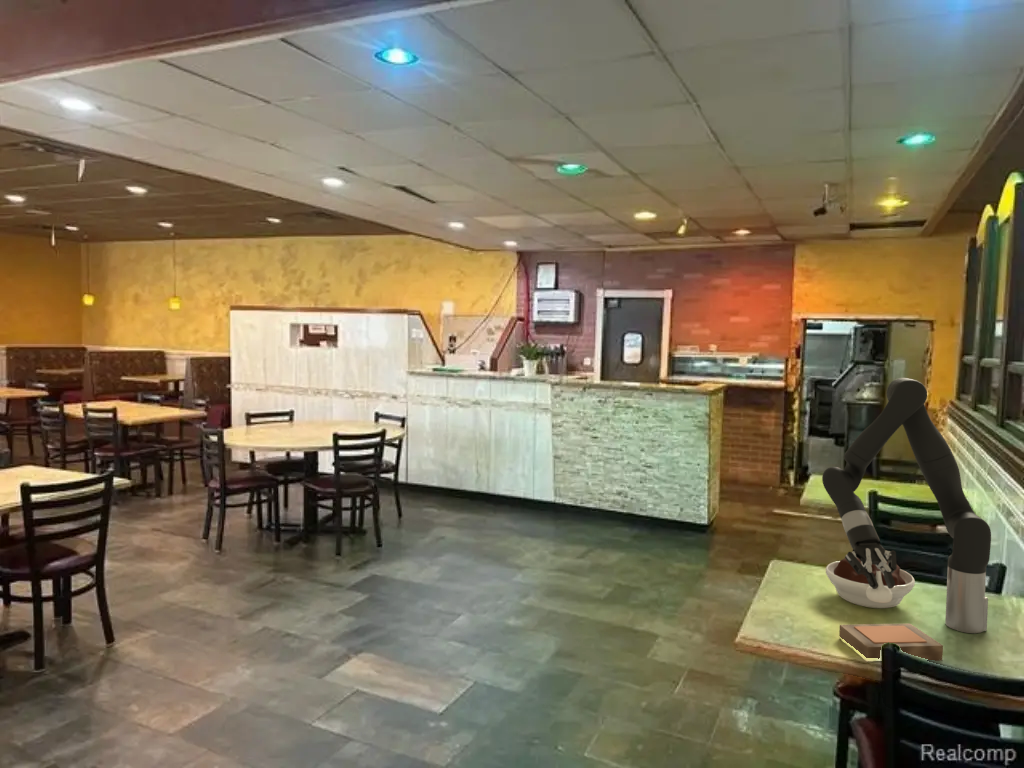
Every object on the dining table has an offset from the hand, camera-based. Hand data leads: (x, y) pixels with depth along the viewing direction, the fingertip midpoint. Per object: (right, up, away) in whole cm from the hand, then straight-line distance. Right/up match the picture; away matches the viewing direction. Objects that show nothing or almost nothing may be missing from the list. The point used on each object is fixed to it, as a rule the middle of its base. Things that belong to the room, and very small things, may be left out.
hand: (883, 587), depth 186 cm
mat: (+2, -13, +1) cm, 13 cm away
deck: (+2, -17, +1) cm, 17 cm away
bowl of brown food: (+13, -15, +35) cm, 40 cm away
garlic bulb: (0, -4, +2) cm, 5 cm away
